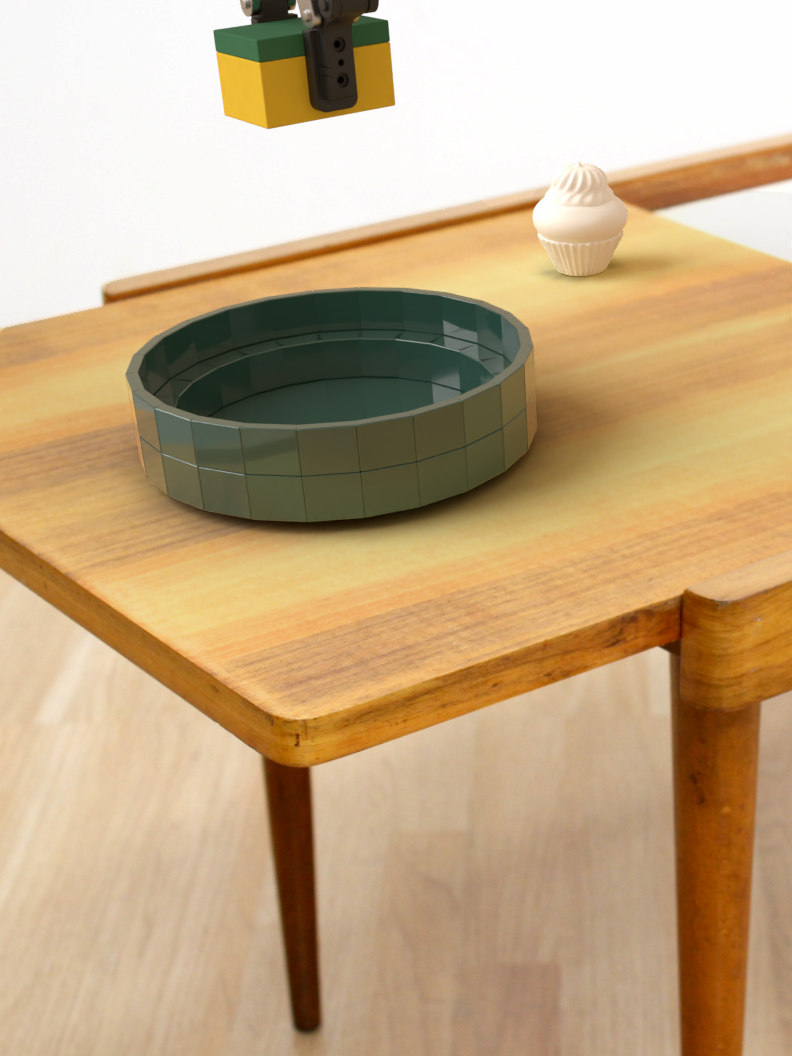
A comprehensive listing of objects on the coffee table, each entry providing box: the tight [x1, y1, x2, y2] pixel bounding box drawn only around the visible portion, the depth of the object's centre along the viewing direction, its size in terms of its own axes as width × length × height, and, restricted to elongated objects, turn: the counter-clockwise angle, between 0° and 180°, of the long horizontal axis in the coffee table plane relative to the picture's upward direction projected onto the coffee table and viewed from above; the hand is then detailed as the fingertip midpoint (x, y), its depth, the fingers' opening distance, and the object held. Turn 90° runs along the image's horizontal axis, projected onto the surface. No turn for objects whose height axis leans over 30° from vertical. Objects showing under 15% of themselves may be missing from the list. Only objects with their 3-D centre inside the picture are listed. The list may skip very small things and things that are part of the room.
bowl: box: [125, 286, 538, 523], centre depth 75 cm, size 19×19×5 cm
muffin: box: [532, 160, 629, 277], centre depth 99 cm, size 6×6×7 cm
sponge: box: [212, 14, 396, 130], centre depth 74 cm, size 7×4×4 cm, turn 127°
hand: (308, 99), depth 75 cm, fingers closed on sponge, 4 cm apart
